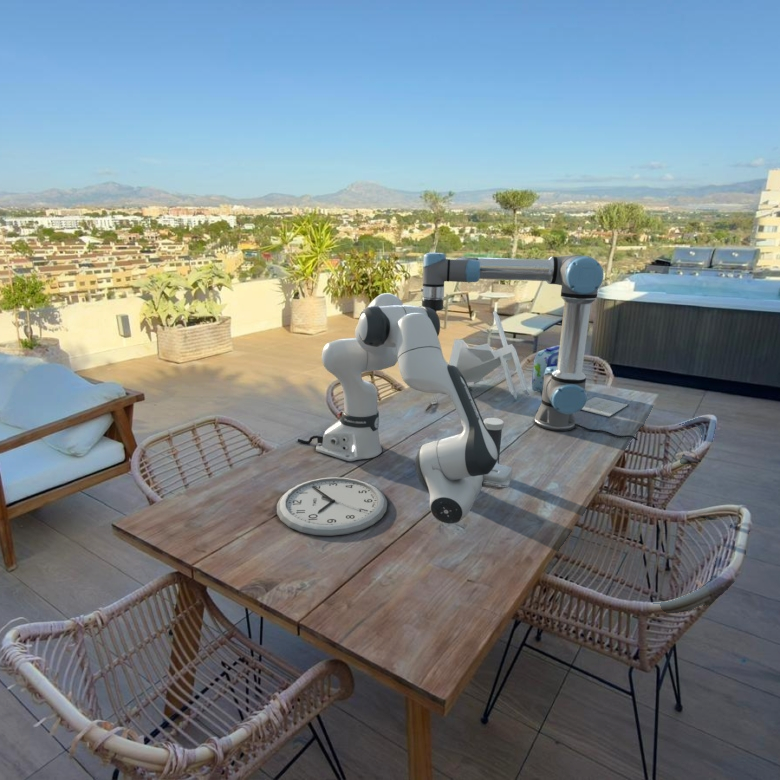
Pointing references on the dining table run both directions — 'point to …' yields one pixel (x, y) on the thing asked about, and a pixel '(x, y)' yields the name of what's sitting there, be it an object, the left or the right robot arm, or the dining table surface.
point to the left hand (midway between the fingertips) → (477, 459)
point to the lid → (493, 423)
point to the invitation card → (603, 406)
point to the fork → (432, 403)
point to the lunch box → (543, 366)
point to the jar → (496, 439)
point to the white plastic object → (486, 360)
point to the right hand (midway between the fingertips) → (430, 357)
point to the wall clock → (331, 506)
